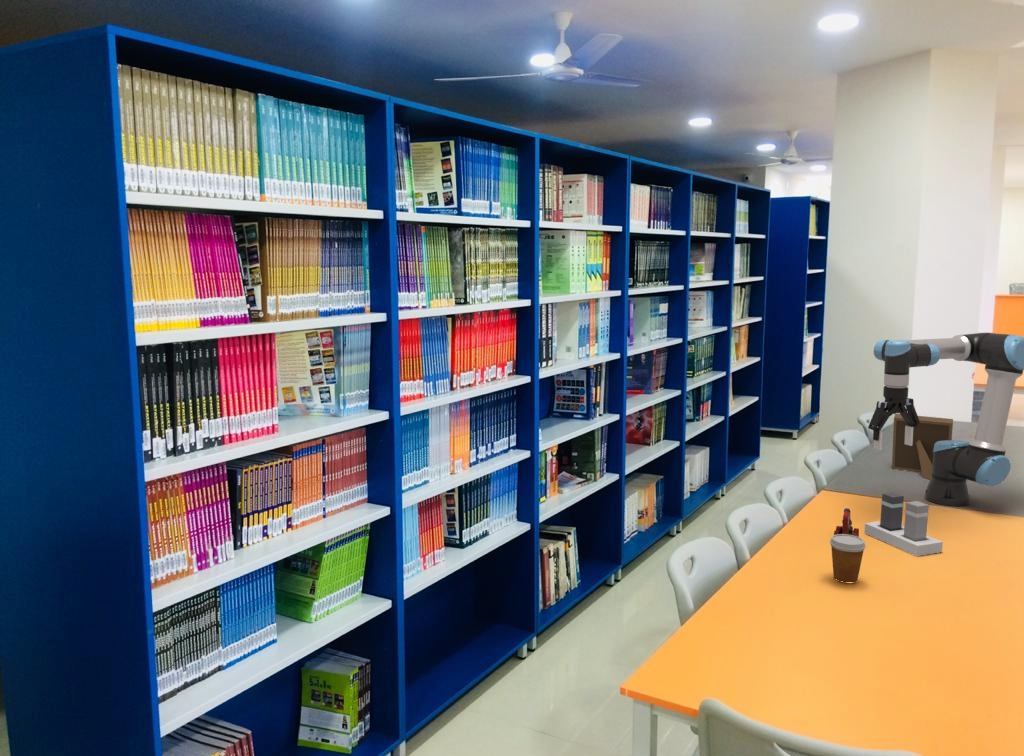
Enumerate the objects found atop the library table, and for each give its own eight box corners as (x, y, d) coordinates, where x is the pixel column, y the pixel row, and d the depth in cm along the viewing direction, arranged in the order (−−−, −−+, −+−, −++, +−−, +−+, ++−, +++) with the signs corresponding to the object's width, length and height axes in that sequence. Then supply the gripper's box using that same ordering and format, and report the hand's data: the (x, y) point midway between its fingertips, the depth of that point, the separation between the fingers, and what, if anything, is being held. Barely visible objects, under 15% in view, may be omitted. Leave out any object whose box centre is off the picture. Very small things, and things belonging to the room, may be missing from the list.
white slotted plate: (888, 529, 266) (888, 520, 265) (941, 552, 245) (942, 542, 245) (864, 533, 263) (865, 523, 262) (916, 556, 242) (917, 545, 242)
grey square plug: (914, 542, 252) (917, 500, 250) (925, 547, 248) (929, 505, 246) (902, 544, 251) (905, 502, 249) (914, 549, 246) (917, 506, 244)
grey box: (890, 532, 261) (893, 492, 259) (901, 537, 257) (904, 496, 255) (879, 534, 260) (882, 493, 258) (889, 538, 256) (892, 497, 254)
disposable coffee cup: (847, 588, 219) (850, 547, 217) (820, 576, 227) (822, 536, 226) (870, 582, 223) (873, 541, 222) (843, 570, 232) (845, 531, 230)
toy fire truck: (859, 537, 259) (861, 506, 258) (855, 549, 249) (857, 517, 247) (836, 533, 263) (838, 503, 261) (832, 545, 252) (834, 514, 250)
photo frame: (893, 466, 346) (897, 411, 342) (949, 473, 334) (954, 416, 330) (888, 475, 333) (892, 417, 329) (946, 482, 322) (951, 423, 318)
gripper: (915, 381, 273) (912, 440, 276) (858, 387, 264) (856, 448, 268) (933, 384, 266) (930, 445, 269) (875, 391, 257) (873, 453, 261)
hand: (893, 447), depth 268 cm, fingers open, 13 cm apart
